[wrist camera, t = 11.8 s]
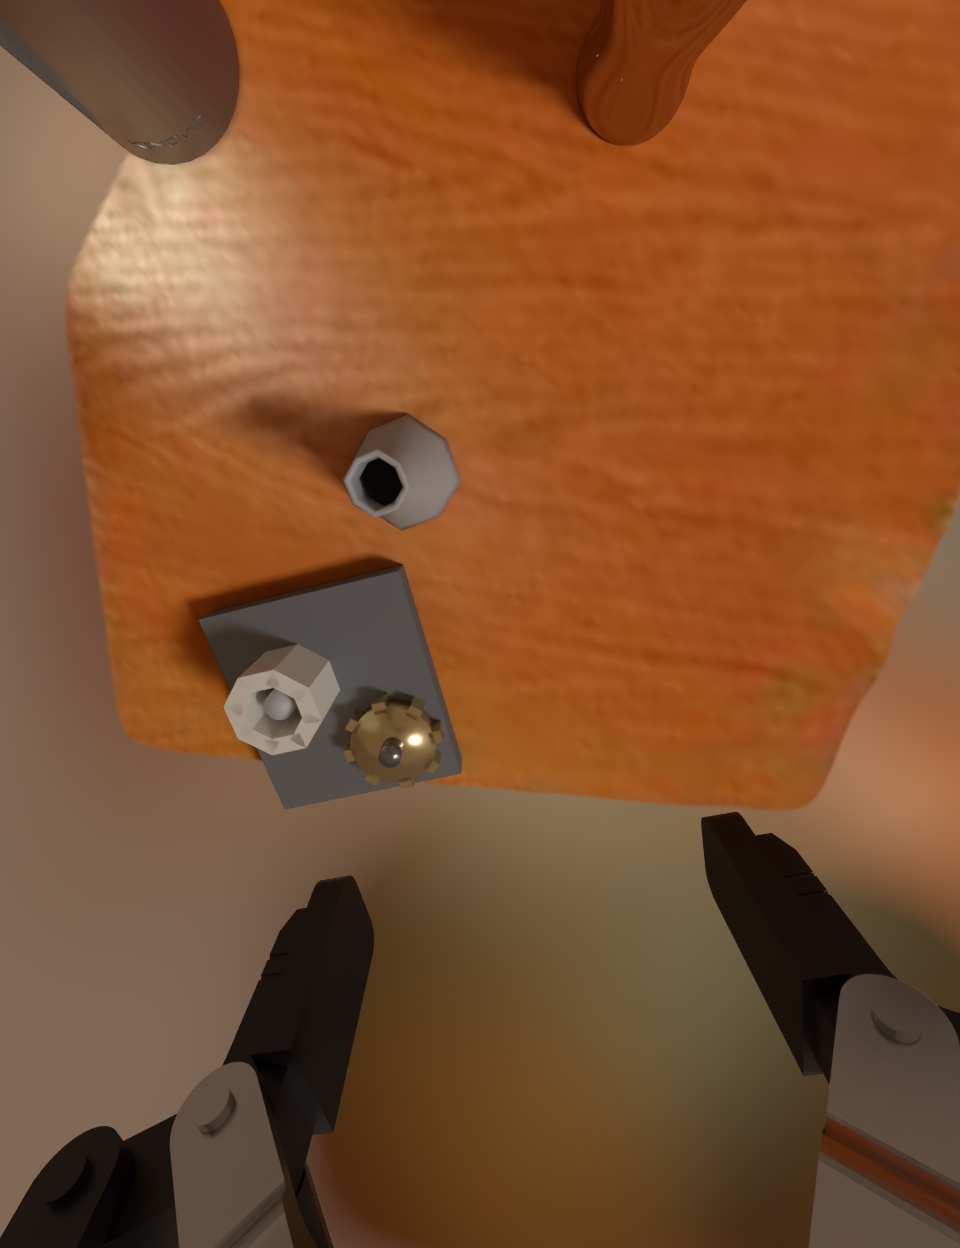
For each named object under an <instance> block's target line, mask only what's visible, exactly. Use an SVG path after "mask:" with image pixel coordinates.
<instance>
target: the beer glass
mask: <svg viewBox="0 0 960 1248" xmlns="http://www.w3.org/2000/svg"><path fill="white" fill-rule="evenodd" d="M746 1H747V0H601V3H600V8H599V11H598V13H597V15H596V17H595V19H594V21H593V23H592V25H591V27H590V29H589V31H588V33H587V35H586V37H585V40H584V42H583V45H582V48H581V51H580V55H579V59H578V65H577V74H576V84H577V95H578V100H579V104H580V107H581V110H582V113H583V115H584V117H585V119H586V121H587V122H588V124H589V125H590V127H591V128H592V129H593V130H594V131H595V132H596V133H597V134H598V135H599V136H600V137H602V138H603V139H605V140H606V141H609V142H611V143H614V144H618V145H636V144H640V143H643V142H645V141H647V140H649V139H651V138H652V137H654V136H655V135H657V134H658V133H659V132H660V131H662V130H663V129H664V128H665V127H666V126H667V124H668V123H669V122H670V121H671V119H672V118H673V117H674V115H675V114H676V112H677V110H678V108H679V106H680V104H681V102H682V100H683V98H684V95H685V92H686V90H687V87H688V83H689V80H690V76H691V73H692V69H693V66H694V64H695V62H696V60H697V59H698V57H699V56H700V55H701V53H702V52H703V51H704V50H705V49H706V47H707V46H708V45H709V44H710V43H711V42H712V41H713V40H714V38H715V37H716V36H717V35H718V34H719V33H720V32H721V31H722V29H723V28H724V27H725V26H726V25H727V24H728V22H729V21H730V20H731V19H732V18H733V17H734V15H735V14H736V13H737V12H738V11H739V10H740V8H741V7H742V6H743V5H744V3H745V2H746Z"/></svg>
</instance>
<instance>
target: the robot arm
mask: <svg viewBox="0 0 960 1248" xmlns="http://www.w3.org/2000/svg"><path fill="white" fill-rule="evenodd" d="M0 45H1V46H2V47H3V48H4V49H5V50H7V51H8V52H9V53H10V54H11V55H13V56H14V57H15V58H17V60H18V61H20V62H21V63H22V64H23V65H25V66H26V67H27V68H28V69H29V70H31V71H32V72H33V73H34V74H36V75H37V76H38V77H39V78H40V79H41V80H43V81H44V82H45V83H46V84H48V85H49V86H50V87H51V88H52V89H54V90H55V91H56V92H57V93H58V94H59V95H60V96H62V97H63V98H64V99H65V100H67V101H68V102H69V103H70V104H71V105H73V106H74V107H75V108H76V109H78V110H79V111H80V112H81V113H82V114H84V115H85V116H86V117H87V118H88V119H90V120H91V121H92V122H93V123H95V124H96V125H97V126H98V127H99V128H100V129H102V130H103V131H104V132H105V133H107V134H108V135H109V136H110V137H111V138H113V139H114V140H115V141H116V142H117V143H119V144H120V145H121V146H122V147H124V148H125V149H127V150H129V151H130V152H132V153H134V154H135V155H137V156H139V157H141V158H144V159H147V160H149V161H152V162H155V163H163V164H179V163H185V162H190V161H192V160H194V159H196V158H198V157H200V156H202V155H204V154H206V153H207V152H208V151H209V150H210V149H211V148H212V147H213V146H215V145H216V144H217V143H218V141H219V140H220V139H221V137H222V136H223V134H224V133H225V131H226V130H227V128H228V126H229V124H230V121H231V118H232V116H233V113H234V111H235V107H236V102H237V96H238V91H239V60H238V54H237V47H236V41H235V38H234V35H233V32H232V29H231V25H230V22H229V19H228V17H227V15H226V13H225V11H224V9H223V7H222V5H221V3H220V1H219V0H0ZM701 827H702V838H703V848H704V859H705V869H706V875H707V879H708V883H709V886H710V889H711V892H712V895H713V897H714V899H715V901H716V903H717V905H718V908H719V909H720V911H721V914H722V916H723V917H724V919H725V921H726V923H727V925H728V927H729V929H730V931H731V933H732V935H733V937H734V939H735V941H736V943H737V945H738V947H739V949H740V951H741V953H742V955H743V957H744V959H745V961H746V963H747V965H748V967H749V969H750V971H751V973H752V975H753V977H754V979H755V981H756V983H757V985H758V987H759V989H760V991H761V993H762V995H763V997H764V998H765V1000H766V1003H767V1005H768V1007H769V1008H770V1010H771V1012H772V1014H773V1016H774V1018H775V1020H776V1022H777V1024H778V1026H779V1028H780V1030H781V1032H782V1034H783V1036H784V1038H785V1040H786V1042H787V1044H788V1046H789V1048H790V1050H791V1052H792V1054H793V1056H794V1058H795V1060H796V1062H797V1064H798V1066H799V1068H800V1070H801V1072H802V1074H803V1076H808V1075H816V1074H824V1076H825V1077H826V1079H827V1081H828V1083H829V1085H830V1087H829V1097H828V1106H827V1115H826V1123H825V1128H824V1129H823V1132H822V1138H821V1145H820V1153H819V1161H818V1171H817V1180H816V1189H815V1197H814V1207H813V1215H812V1224H811V1233H810V1242H809V1248H960V1013H957V1012H954V1011H951V1010H948V1009H945V1008H942V1007H940V1006H938V1005H936V1004H935V1003H934V1002H933V1001H931V999H929V998H928V997H927V996H926V995H924V994H923V993H922V992H920V991H919V990H917V989H916V988H914V987H912V986H910V985H908V984H907V983H904V982H902V981H900V980H898V979H897V978H896V977H895V976H894V975H893V974H892V973H891V972H890V971H889V970H888V969H887V967H886V966H885V965H884V964H883V962H882V961H881V960H880V959H879V957H878V956H877V955H876V953H875V952H874V951H873V949H872V948H871V947H870V946H869V944H868V943H867V942H866V940H865V939H864V938H863V936H862V935H861V934H860V932H859V931H858V930H857V929H856V927H855V926H854V925H853V923H852V922H851V921H850V920H849V918H848V917H847V916H846V914H845V913H844V912H843V910H842V909H841V908H840V907H839V905H838V904H837V903H836V901H835V900H834V899H833V897H832V896H831V895H829V894H828V893H827V890H826V888H825V887H824V886H823V884H822V883H821V882H820V881H819V879H818V878H817V877H816V876H814V874H813V871H812V870H811V869H810V868H809V866H808V865H807V864H806V862H805V861H804V860H803V858H802V857H801V856H800V855H799V853H798V852H797V851H796V850H795V849H794V848H793V847H791V846H790V845H788V844H787V843H785V842H784V841H782V840H781V839H780V838H778V837H777V836H775V835H773V834H772V833H769V834H762V835H757V836H755V834H754V833H753V832H752V830H751V829H750V827H749V826H748V824H747V823H746V821H745V820H744V818H743V817H742V816H741V815H740V814H739V813H738V812H732V813H726V814H720V815H715V816H709V817H703V818H702V820H701ZM373 950H374V931H373V925H372V922H371V919H370V916H369V914H368V911H367V909H366V906H365V904H364V901H363V898H362V896H361V893H360V891H359V888H358V886H357V883H356V881H355V879H354V878H353V877H352V876H344V877H339V878H333V879H327V880H321V881H319V882H318V883H317V884H316V885H315V888H314V890H313V893H312V895H311V898H310V900H309V903H308V906H307V908H303V909H297V910H296V912H295V913H294V914H293V915H292V916H291V918H290V919H289V920H288V922H287V923H286V924H285V925H284V927H283V928H282V929H281V930H280V932H279V934H278V937H277V939H276V942H275V944H274V946H273V949H272V951H271V953H270V959H269V960H267V963H266V965H265V967H264V970H263V972H262V975H261V976H262V977H261V980H259V982H258V984H257V986H256V989H255V991H254V993H253V996H252V998H251V1000H250V1003H249V1005H248V1008H247V1010H246V1012H245V1015H244V1017H243V1019H242V1022H241V1024H240V1026H239V1029H238V1031H237V1033H236V1036H235V1038H234V1041H233V1043H232V1045H231V1048H230V1050H229V1052H228V1055H227V1057H226V1059H225V1061H224V1063H223V1065H222V1066H221V1067H220V1068H218V1069H216V1070H214V1071H213V1072H212V1073H210V1074H209V1075H208V1076H206V1077H205V1078H204V1079H203V1080H202V1081H201V1082H200V1083H199V1084H198V1085H197V1086H196V1087H195V1088H194V1089H193V1090H192V1092H191V1093H190V1094H189V1096H188V1097H187V1098H186V1100H185V1101H184V1103H183V1104H182V1106H181V1108H180V1110H179V1112H178V1113H177V1114H175V1115H174V1116H172V1117H170V1118H168V1119H166V1120H164V1121H162V1122H160V1123H158V1124H156V1125H154V1126H152V1127H150V1128H148V1129H146V1130H144V1131H142V1132H140V1133H138V1134H137V1135H134V1136H132V1137H131V1138H129V1139H127V1140H125V1141H123V1140H122V1138H121V1137H120V1136H119V1134H118V1133H117V1132H116V1131H115V1129H113V1128H111V1127H108V1126H100V1127H96V1128H93V1129H90V1130H88V1131H86V1132H84V1133H82V1134H81V1135H79V1136H77V1137H76V1138H74V1139H73V1140H72V1141H70V1142H69V1143H68V1144H67V1145H65V1146H64V1147H63V1148H62V1149H61V1150H60V1151H59V1152H58V1153H57V1154H56V1155H55V1156H54V1157H53V1158H52V1159H51V1160H50V1161H49V1162H48V1163H47V1164H46V1166H45V1167H44V1168H43V1169H42V1170H41V1172H40V1173H39V1175H38V1176H37V1177H36V1179H35V1180H34V1181H33V1183H32V1185H31V1186H30V1188H29V1189H28V1191H27V1193H26V1194H25V1196H24V1198H23V1200H22V1201H21V1203H20V1205H19V1206H18V1208H17V1210H16V1212H15V1213H14V1215H13V1217H12V1219H11V1220H10V1222H9V1224H8V1226H7V1227H6V1229H5V1231H4V1232H3V1234H2V1236H1V1238H0V1248H334V1247H333V1244H332V1240H331V1237H330V1234H329V1231H328V1228H327V1224H326V1221H325V1218H324V1214H323V1211H322V1208H321V1205H320V1202H319V1198H318V1195H317V1192H316V1189H315V1186H314V1182H313V1179H312V1176H311V1173H310V1169H309V1166H308V1164H307V1162H306V1157H307V1153H308V1149H309V1145H310V1141H311V1137H312V1135H315V1134H323V1133H330V1132H333V1131H334V1127H335V1123H336V1118H337V1114H338V1109H339V1104H340V1100H341V1096H342V1091H343V1087H344V1082H345V1078H346V1072H347V1068H348V1064H349V1059H350V1055H351V1050H352V1046H353V1041H354V1036H355V1032H356V1028H357V1023H358V1019H359V1014H360V1010H361V1005H362V1001H363V996H364V992H365V987H366V983H367V978H368V973H369V969H370V965H371V960H372V955H373Z"/></svg>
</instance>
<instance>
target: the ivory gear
mask: <svg viewBox="0 0 960 1248" xmlns="http://www.w3.org/2000/svg"><path fill="white" fill-rule="evenodd" d="M274 688H275V689H277V690H279V691H281V692H283V693H284V694H286V695H288V696H290V697H292V698H294V699H295V701H296V704H297V707H296V709H295V710H294V711H293V713H292V714H291V716H290V717H288V718H287V719H285V720H275V719H273V718H271V717H269V716H268V715H267V714H266V712H265V711H264V707H263V703H264V700H265V699H266V698H267V697H268V695H269V694H270V693H271V692H272V691H273V690H274ZM339 691H340V688H339V685H338V683H337V680H336V677H335V675H334V672H333V669H332V667H331V664H330V661H329V660H327V659H326V658H324V657H322V656H320V655H318V654H316V653H314V652H312V651H310V650H309V649H307V648H305V647H303V646H301V645H299V644H296V645H292V646H288V647H283V648H279V649H275V650H270V651H266V652H265V653H264V654H263V655H262V656H261V657H260V658H259V659H258V660H257V661H255V662H254V663H253V664H252V665H251V666H250V667H249V668H248V669H247V670H246V671H245V672H244V673H243V674H241V675H240V676H239V677H238V679H237V681H236V683H235V685H234V687H233V689H232V691H231V693H230V695H229V697H228V699H227V701H226V703H225V705H224V709H225V711H226V714H227V716H228V718H229V720H230V722H231V724H232V727H233V729H234V731H235V733H236V735H237V737H238V739H239V740H242V741H244V742H246V743H248V744H250V745H252V746H254V747H256V748H258V749H260V750H262V751H264V752H266V753H268V754H270V755H276V754H281V753H286V752H290V751H295V750H300V749H304V748H307V746H308V744H309V743H310V741H311V739H312V738H313V736H314V734H315V733H316V731H317V729H318V728H319V726H320V724H321V723H322V721H323V719H324V718H325V716H326V714H327V712H328V710H329V709H330V707H331V705H332V703H333V702H334V700H335V698H336V696H337V695H338V693H339Z"/></svg>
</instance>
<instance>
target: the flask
mask: <svg viewBox="0 0 960 1248" xmlns="http://www.w3.org/2000/svg"><path fill="white" fill-rule="evenodd" d="M342 481H343V483H344V485H345V488H346V490H347V492H348V494H349V497H350V499H351V501H352V503H353V505H355V506H356V507H358V508H359V509H361V510H362V511H364V512H366V513H367V514H369V515H370V516H372V517H373V518H377V517H379V516H380V517H381V518H383V519H384V520H386V521H388V522H389V523H391V524H392V525H394V526H395V527H397V528H399V529H400V530H404V529H407V528H410V527H412V526H415V525H418V524H420V523H423V522H426V521H428V520H431V519H434V518H437V517H439V516H440V515H441V513H442V511H443V510H444V508H445V506H446V505H447V503H448V502H449V500H450V498H451V497H452V495H453V493H454V492H455V490H456V489H457V487H458V485H459V484H460V482H461V479H460V476H459V474H458V471H457V468H456V465H455V463H454V460H453V457H452V454H451V452H450V449H449V446H448V443H447V441H446V439H445V438H444V437H442V436H441V435H439V434H438V433H436V432H435V431H433V430H432V429H430V428H429V427H428V426H426V425H425V424H423V423H422V422H420V421H419V420H417V419H416V418H414V417H413V416H411V415H410V414H407V415H405V416H402V417H400V418H397V419H395V420H392V421H390V422H387V423H385V424H382V425H380V426H377V427H375V428H372V429H370V430H369V431H368V433H367V435H366V437H365V439H364V440H363V442H362V444H361V446H360V448H359V450H358V452H357V453H356V455H355V457H354V459H353V461H352V463H351V465H350V466H349V469H348V471H347V473H346V474H345V476H344V478H343V480H342Z"/></svg>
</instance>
